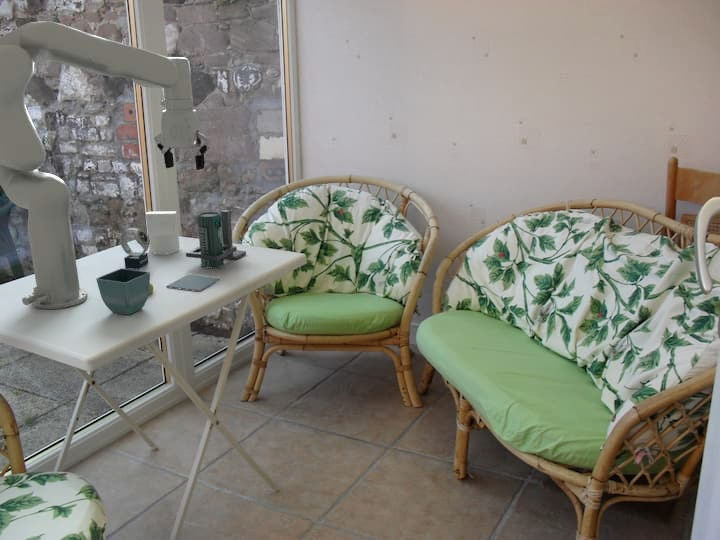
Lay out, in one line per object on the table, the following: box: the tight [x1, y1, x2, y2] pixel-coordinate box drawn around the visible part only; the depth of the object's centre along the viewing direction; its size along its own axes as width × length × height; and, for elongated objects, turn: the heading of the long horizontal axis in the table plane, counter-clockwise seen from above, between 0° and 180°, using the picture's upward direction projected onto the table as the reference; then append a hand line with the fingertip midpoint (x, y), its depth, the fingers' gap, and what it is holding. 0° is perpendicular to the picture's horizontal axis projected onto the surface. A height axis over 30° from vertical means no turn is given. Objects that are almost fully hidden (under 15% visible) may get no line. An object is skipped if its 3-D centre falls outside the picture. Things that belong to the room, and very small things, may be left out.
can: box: [197, 211, 225, 269], centre depth 189 cm, size 6×6×15 cm
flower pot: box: [95, 268, 151, 316], centre depth 156 cm, size 9×9×9 cm
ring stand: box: [185, 209, 247, 261], centre depth 192 cm, size 18×10×14 cm, turn 160°
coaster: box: [166, 274, 221, 292], centre depth 175 cm, size 10×10×1 cm
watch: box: [119, 227, 150, 270], centre depth 188 cm, size 6×8×11 cm
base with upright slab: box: [145, 210, 180, 255], centre depth 203 cm, size 9×9×12 cm
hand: (185, 168), depth 184 cm, fingers open, 9 cm apart
